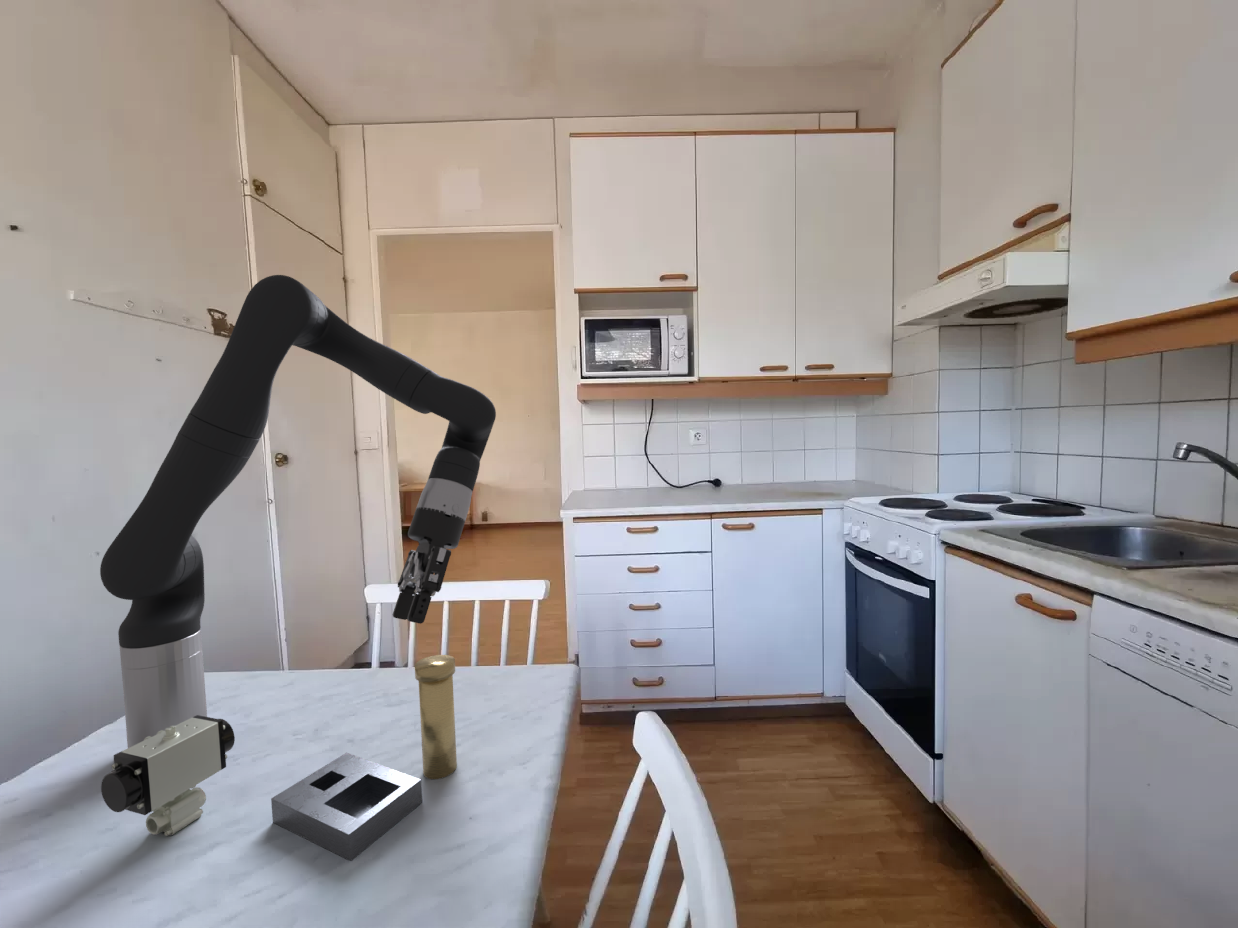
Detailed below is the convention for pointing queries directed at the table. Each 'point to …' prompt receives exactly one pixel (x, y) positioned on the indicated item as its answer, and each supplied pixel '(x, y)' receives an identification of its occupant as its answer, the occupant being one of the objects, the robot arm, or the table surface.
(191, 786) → the pneumatic valve
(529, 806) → the table surface
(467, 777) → the table surface
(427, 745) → the brass headed pin
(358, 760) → the plate
